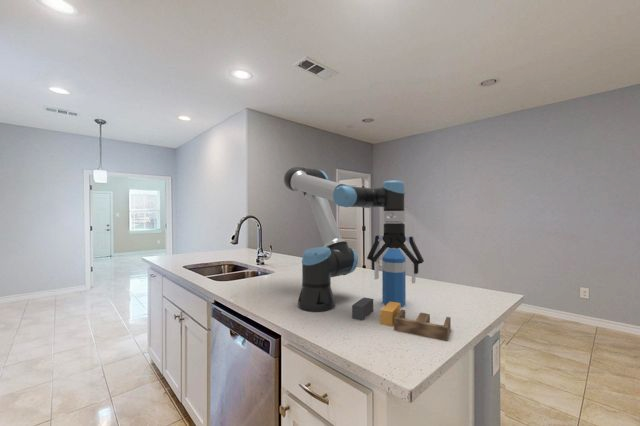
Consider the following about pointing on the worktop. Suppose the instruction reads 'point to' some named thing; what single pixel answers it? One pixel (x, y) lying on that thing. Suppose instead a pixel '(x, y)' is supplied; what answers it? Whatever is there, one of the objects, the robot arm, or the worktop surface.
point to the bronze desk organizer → (422, 326)
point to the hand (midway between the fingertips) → (394, 280)
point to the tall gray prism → (362, 308)
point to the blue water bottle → (393, 277)
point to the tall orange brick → (390, 313)
